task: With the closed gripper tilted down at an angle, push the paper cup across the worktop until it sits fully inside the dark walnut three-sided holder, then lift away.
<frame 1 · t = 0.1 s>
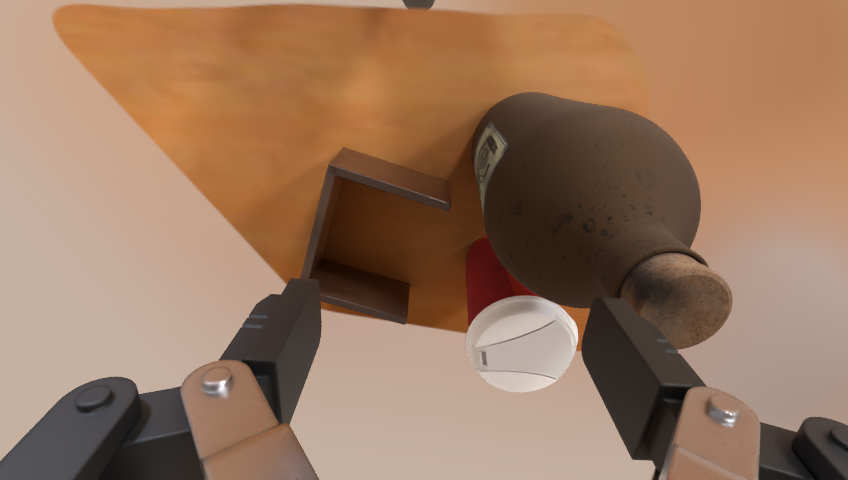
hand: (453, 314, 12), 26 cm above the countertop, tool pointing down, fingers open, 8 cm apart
paper cup: (494, 259, 41), on the countertop
brown bottle: (523, 147, 37), on the countertop
holder: (381, 224, 40), on the countertop
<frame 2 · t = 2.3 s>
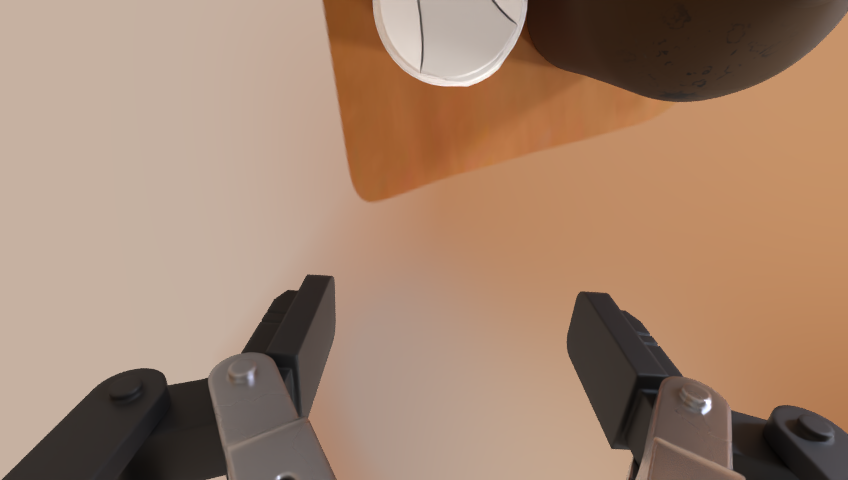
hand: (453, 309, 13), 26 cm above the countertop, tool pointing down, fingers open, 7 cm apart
paper cup: (442, 20, 33), on the countertop
brown bottle: (587, 4, 32), on the countertop
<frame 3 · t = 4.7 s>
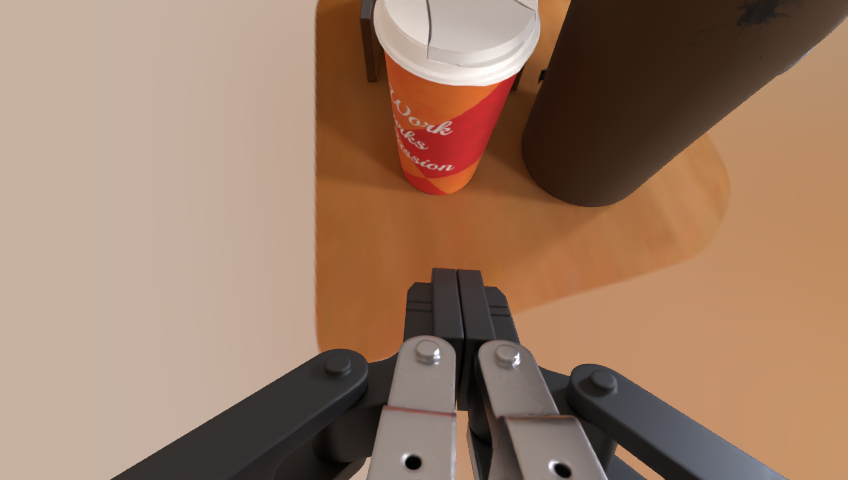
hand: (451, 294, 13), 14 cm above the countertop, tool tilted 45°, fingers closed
paper cup: (438, 164, 31), on the countertop
brown bottle: (581, 152, 32), on the countertop
holder: (443, 43, 35), on the countertop
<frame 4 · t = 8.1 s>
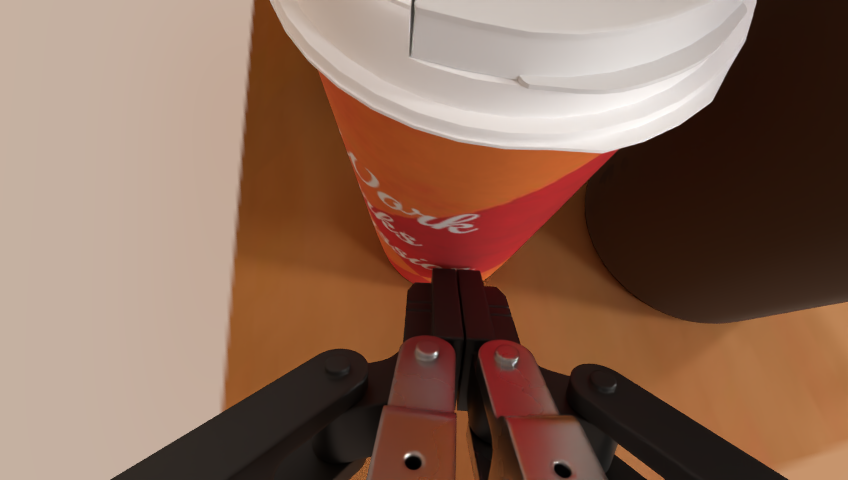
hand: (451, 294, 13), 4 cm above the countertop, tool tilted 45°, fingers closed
paper cup: (444, 234, 19), on the countertop, touching gripper
brown bottle: (683, 220, 19), on the countertop
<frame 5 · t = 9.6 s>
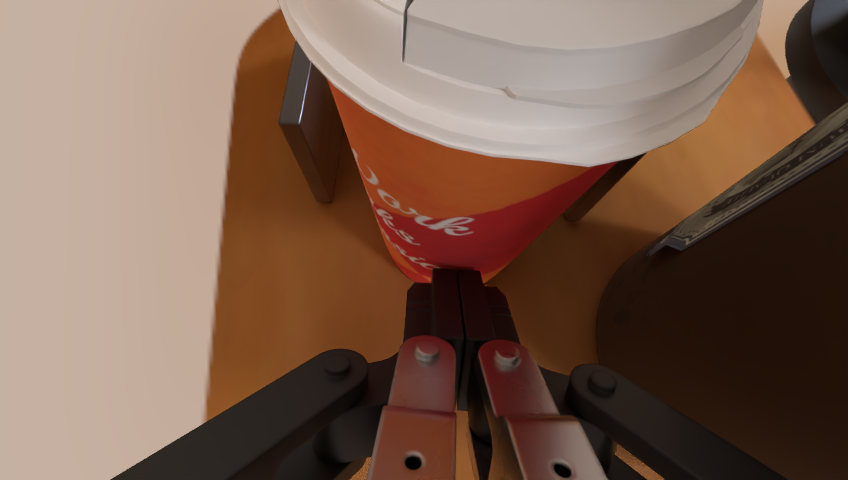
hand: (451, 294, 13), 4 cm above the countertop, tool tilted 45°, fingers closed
paper cup: (448, 234, 19), on the countertop, touching gripper
brown bottle: (704, 347, 18), on the countertop
holder: (452, 127, 21), on the countertop
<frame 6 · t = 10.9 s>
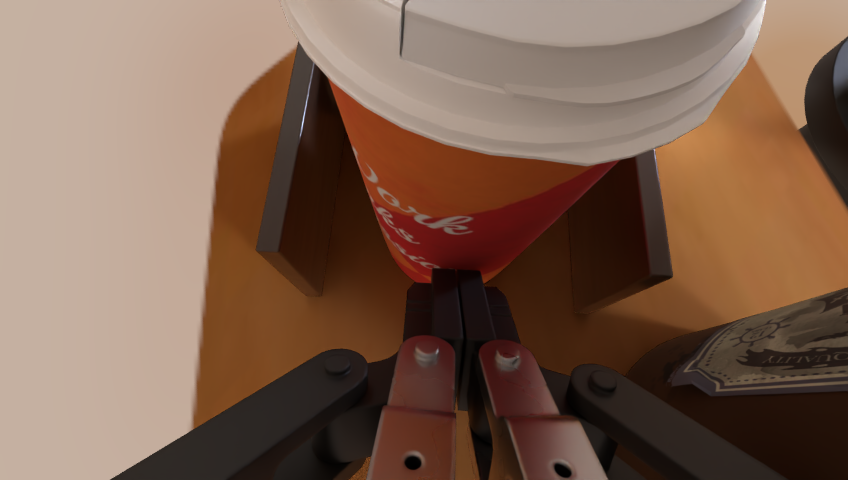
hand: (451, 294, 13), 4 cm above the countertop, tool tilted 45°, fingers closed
paper cup: (449, 234, 19), on the countertop, touching gripper
brown bottle: (726, 457, 16), on the countertop, touching hand
holder: (451, 206, 19), on the countertop
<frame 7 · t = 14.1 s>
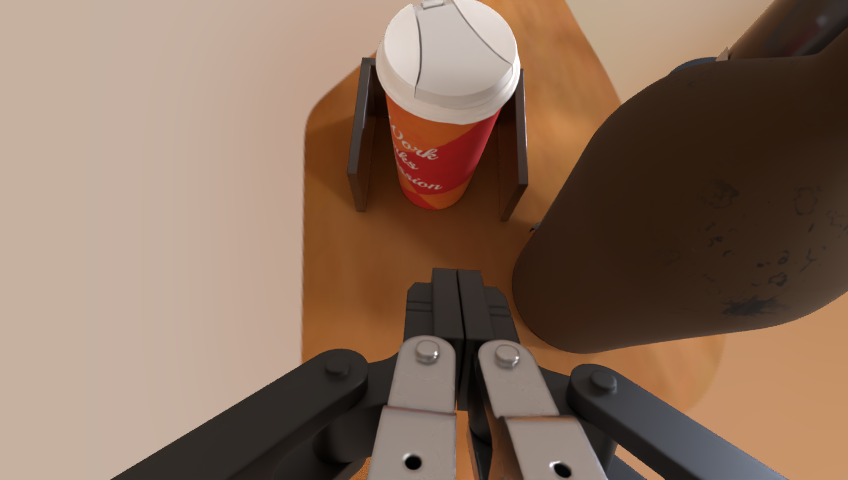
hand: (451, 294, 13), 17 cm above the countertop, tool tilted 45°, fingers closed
paper cup: (433, 180, 34), on the countertop
brown bottle: (572, 288, 32), on the countertop
holder: (435, 166, 35), on the countertop
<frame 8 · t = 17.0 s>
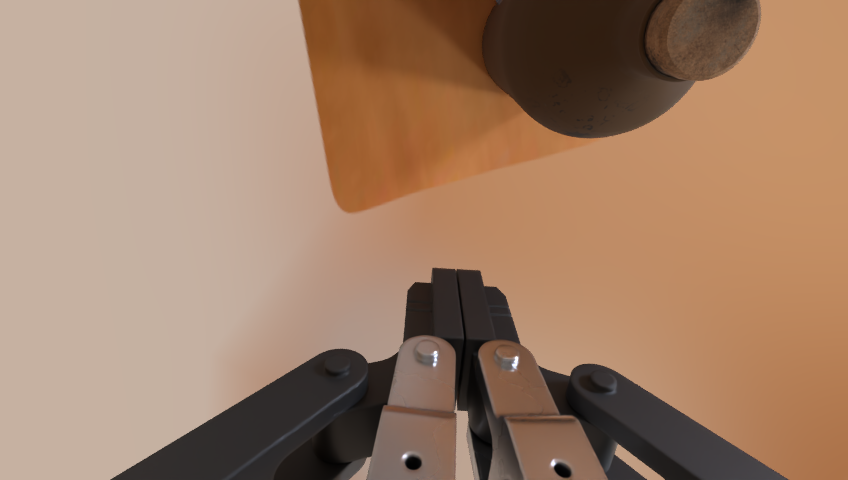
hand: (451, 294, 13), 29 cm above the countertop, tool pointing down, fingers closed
brown bottle: (535, 41, 37), on the countertop
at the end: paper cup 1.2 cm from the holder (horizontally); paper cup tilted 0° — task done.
